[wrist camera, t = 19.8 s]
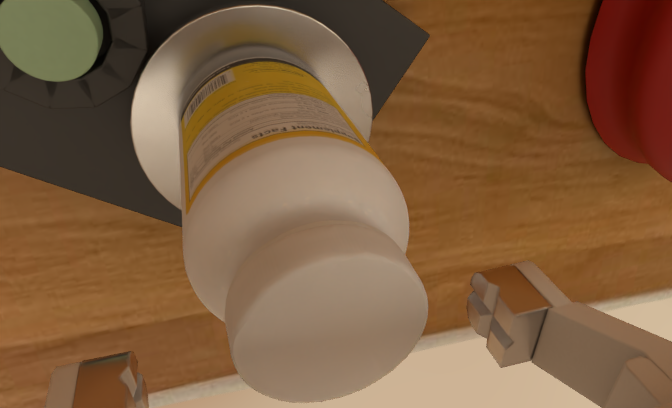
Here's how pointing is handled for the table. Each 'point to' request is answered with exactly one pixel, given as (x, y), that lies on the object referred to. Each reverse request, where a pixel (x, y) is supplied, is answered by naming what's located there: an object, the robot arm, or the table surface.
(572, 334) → the robot arm
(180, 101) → the scale pan
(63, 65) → the button
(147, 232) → the table surface
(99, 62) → the scale
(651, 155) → the table lamp
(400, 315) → the pill bottle
